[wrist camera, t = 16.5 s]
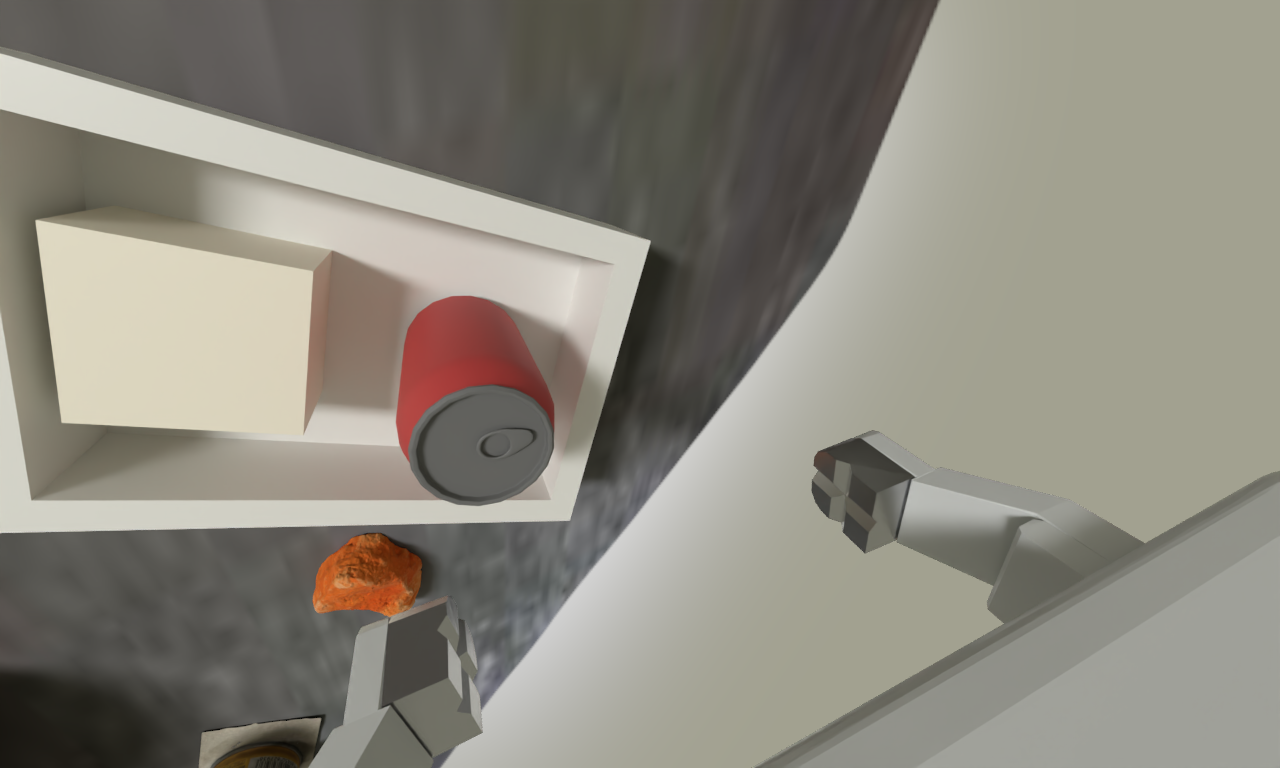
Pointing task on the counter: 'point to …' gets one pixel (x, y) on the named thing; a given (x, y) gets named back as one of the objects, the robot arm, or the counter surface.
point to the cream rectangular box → (183, 323)
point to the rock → (368, 577)
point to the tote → (356, 327)
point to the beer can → (472, 404)
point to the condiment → (261, 745)
